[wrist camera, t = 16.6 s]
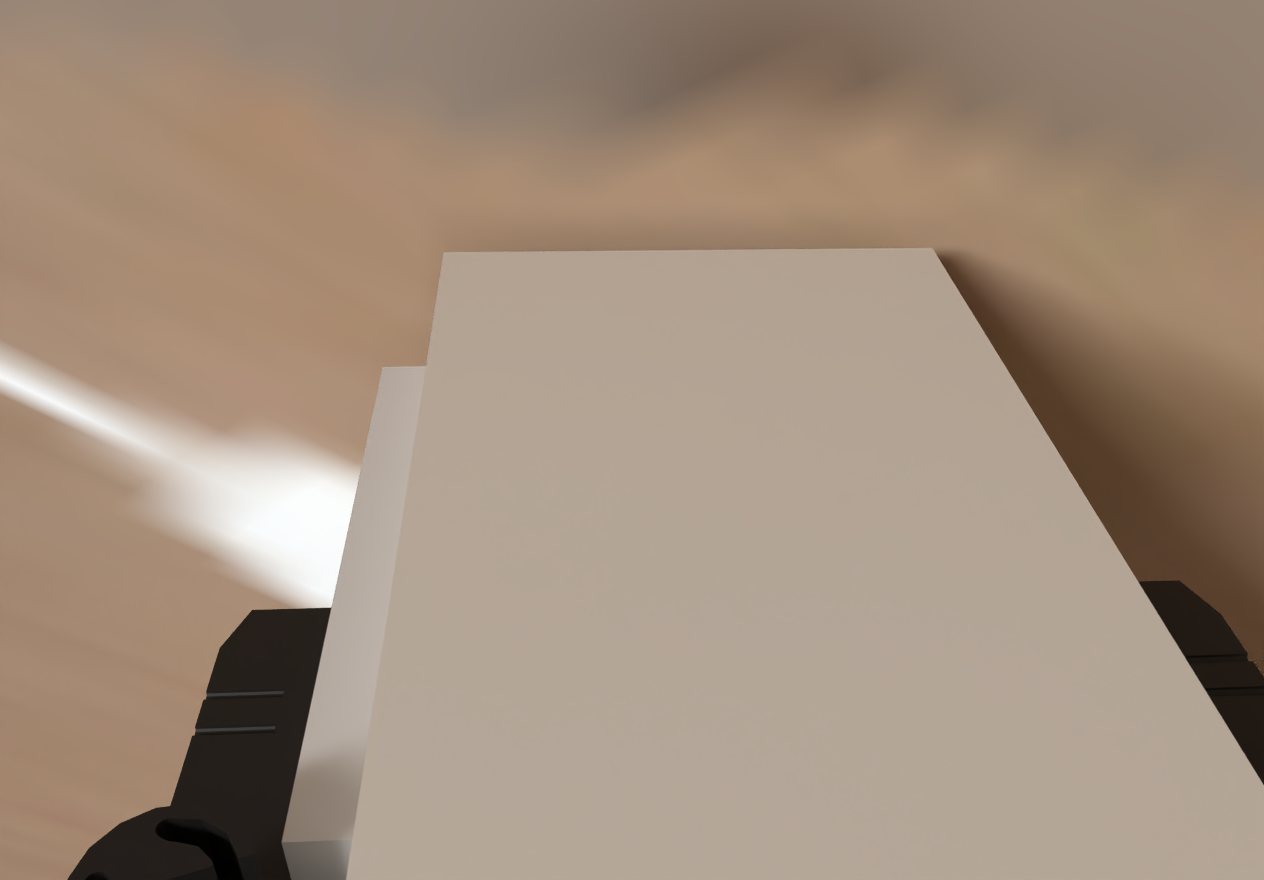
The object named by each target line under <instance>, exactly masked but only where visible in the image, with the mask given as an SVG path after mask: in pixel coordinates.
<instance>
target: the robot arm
mask: <svg viewBox="0 0 1264 880" xmlns="http://www.w3.org/2000/svg"><path fill="white" fill-rule="evenodd" d="M425 370H426V366H417V367H383V368H382V373H381V378H380V382H379V387H378V392H377V396H376V401H375V406H374V410H373V415H372V420H371V425H370V429H369V434H368V439H367V443H366V448H365V453H364V457H363V462H362V467H361V472H360V476H359V481H358V486H357V490H356V495H355V500H354V504H353V509H352V514H351V518H350V523H349V528H348V533H347V537H346V542H345V547H344V551H343V556H342V561H341V565H340V570H339V575H338V580H337V584H336V589H335V594H334V598H333V603H332V608H306V609H272V610H252V611H251V612H250V613H249V615H248V616H247V617H246V618H245V619H244V620H243V622H242V623H241V624H240V625H239V626H238V627H237V629H236V630H235V631H234V632H233V633H232V634H231V636H230V637H229V638H228V639H227V640H226V641H225V643H224V644H223V645H222V646H221V647H220V649H219V652H218V655H217V659H216V662H215V665H214V668H213V671H212V675H211V678H210V681H209V684H208V687H207V691H206V692H207V697H206V700H203V703H202V707H201V710H200V713H199V716H198V719H197V723H196V726H195V728H196V732H195V736H192V739H191V742H190V745H189V748H188V751H187V755H186V758H185V761H184V764H183V767H182V771H181V774H180V777H179V780H178V783H177V786H176V790H175V793H174V796H173V799H172V802H171V806H168V807H160V808H155V809H152V810H150V811H148V812H145V813H143V814H141V815H138V816H136V817H134V818H131V819H129V820H127V821H124V822H122V823H120V824H119V825H117V826H116V827H115V828H114V829H112V830H111V831H110V832H109V833H107V834H106V835H105V836H104V837H102V838H101V839H100V840H99V841H97V842H96V843H95V844H94V845H92V846H91V847H90V848H89V849H88V850H87V852H86V853H85V855H84V856H83V858H82V859H81V860H80V862H79V863H78V865H77V866H76V868H75V869H74V870H73V872H72V873H71V875H70V876H69V878H68V880H346V877H347V870H348V864H349V858H350V851H351V845H352V838H353V832H354V826H355V819H356V813H357V806H358V800H359V793H360V787H361V781H362V774H363V768H364V761H365V755H366V748H367V742H368V736H369V729H370V723H371V716H372V710H373V704H374V697H375V691H376V684H377V678H378V671H379V665H380V659H381V652H382V646H383V639H384V633H385V626H386V620H387V614H388V607H389V601H390V594H391V588H392V582H393V575H394V569H395V562H396V556H397V549H398V543H399V537H400V530H401V524H402V517H403V511H404V504H405V498H406V492H407V485H408V479H409V472H410V466H411V459H412V453H413V447H414V440H415V434H416V427H417V421H418V415H419V408H420V402H421V395H422V389H423V382H424V376H425ZM1139 584H1140V586H1141V587H1142V589H1143V590H1144V592H1145V594H1146V595H1147V597H1148V599H1149V600H1150V602H1151V603H1152V605H1153V607H1154V608H1155V610H1156V611H1157V613H1158V615H1159V616H1160V618H1161V620H1162V621H1163V623H1164V624H1165V626H1166V628H1167V629H1168V631H1169V633H1170V634H1171V636H1172V637H1173V639H1174V641H1175V642H1176V644H1177V645H1178V647H1179V649H1180V650H1181V652H1182V654H1183V655H1184V657H1185V658H1186V660H1187V662H1188V663H1189V665H1190V667H1191V668H1192V670H1193V671H1194V673H1195V675H1196V676H1197V678H1198V680H1199V681H1200V683H1201V684H1202V686H1203V688H1204V689H1205V691H1206V692H1207V694H1208V696H1209V697H1210V699H1211V701H1212V702H1213V704H1214V705H1215V707H1216V709H1217V710H1218V712H1219V714H1220V715H1221V717H1222V718H1223V720H1224V722H1225V723H1226V725H1227V727H1228V728H1229V730H1230V731H1231V733H1232V735H1233V736H1234V738H1235V739H1236V741H1237V743H1238V744H1239V746H1240V748H1241V749H1242V751H1243V752H1244V754H1245V756H1246V757H1247V759H1248V761H1249V762H1250V764H1251V765H1252V767H1253V769H1254V770H1255V772H1256V773H1257V775H1258V777H1259V778H1260V780H1261V782H1262V783H1263V785H1264V677H1263V676H1262V674H1261V673H1260V671H1259V670H1258V668H1257V667H1256V665H1255V664H1254V662H1253V661H1252V662H1249V661H1248V659H1247V652H1246V651H1245V649H1244V648H1243V646H1242V645H1241V643H1240V642H1239V640H1238V639H1237V637H1236V636H1235V634H1234V633H1233V631H1232V630H1231V628H1230V627H1229V626H1228V624H1227V623H1226V621H1225V620H1224V618H1223V617H1222V615H1221V614H1220V613H1219V612H1217V611H1216V610H1215V609H1214V608H1212V607H1211V606H1210V605H1209V604H1207V603H1206V602H1205V601H1204V600H1202V599H1201V598H1200V597H1199V596H1197V595H1196V594H1195V593H1194V592H1193V591H1191V590H1190V589H1189V588H1188V587H1186V586H1185V585H1184V584H1183V583H1181V582H1180V581H1144V582H1139Z"/></svg>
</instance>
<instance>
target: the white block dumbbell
mask: <svg viewBox="0 0 1264 880" xmlns="http://www.w3.org/2000/svg"><path fill="white" fill-rule="evenodd" d="M346 880H1264V785H1263V783H1262V782H1261V780H1260V778H1259V777H1258V775H1257V773H1256V772H1255V770H1254V769H1253V767H1252V765H1251V764H1250V762H1249V761H1248V759H1247V757H1246V756H1245V754H1244V752H1243V751H1242V749H1241V748H1240V746H1239V744H1238V743H1237V741H1236V739H1235V738H1234V736H1233V735H1232V733H1231V731H1230V730H1229V728H1228V727H1227V725H1226V723H1225V722H1224V720H1223V718H1222V717H1221V715H1220V714H1219V712H1218V710H1217V709H1216V707H1215V705H1214V704H1213V702H1212V701H1211V699H1210V697H1209V696H1208V694H1207V692H1206V691H1205V689H1204V688H1203V686H1202V684H1201V683H1200V681H1199V680H1198V678H1197V676H1196V675H1195V673H1194V671H1193V670H1192V668H1191V667H1190V665H1189V663H1188V662H1187V660H1186V658H1185V657H1184V655H1183V654H1182V652H1181V650H1180V649H1179V647H1178V645H1177V644H1176V642H1175V641H1174V639H1173V637H1172V636H1171V634H1170V633H1169V631H1168V629H1167V628H1166V626H1165V624H1164V623H1163V621H1162V620H1161V618H1160V616H1159V615H1158V613H1157V611H1156V610H1155V608H1154V607H1153V605H1152V603H1151V602H1150V600H1149V599H1148V597H1147V595H1146V594H1145V592H1144V590H1143V589H1142V587H1141V586H1140V584H1139V582H1138V581H1137V579H1136V577H1135V576H1134V574H1133V573H1132V571H1131V569H1130V568H1129V566H1128V564H1127V563H1126V561H1125V560H1124V558H1123V556H1122V555H1121V553H1120V552H1119V550H1118V548H1117V547H1116V545H1115V543H1114V542H1113V540H1112V539H1111V537H1110V535H1109V534H1108V532H1107V530H1106V529H1105V527H1104V526H1103V524H1102V522H1101V521H1100V519H1099V517H1098V516H1097V514H1096V513H1095V511H1094V509H1093V508H1092V506H1091V505H1090V503H1089V501H1088V500H1087V498H1086V496H1085V495H1084V493H1083V492H1082V490H1081V488H1080V487H1079V485H1078V483H1077V482H1076V480H1075V479H1074V477H1073V475H1072V474H1071V472H1070V471H1069V469H1068V467H1067V466H1066V464H1065V462H1064V461H1063V459H1062V458H1061V456H1060V454H1059V453H1058V451H1057V449H1056V448H1055V446H1054V445H1053V443H1052V441H1051V440H1050V438H1049V436H1048V435H1047V433H1046V432H1045V430H1044V428H1043V427H1042V425H1041V424H1040V422H1039V420H1038V419H1037V417H1036V415H1035V414H1034V412H1033V411H1032V409H1031V407H1030V406H1029V404H1028V402H1027V401H1026V399H1025V398H1024V396H1023V394H1022V393H1021V391H1020V389H1019V388H1018V386H1017V385H1016V383H1015V381H1014V380H1013V378H1012V377H1011V375H1010V373H1009V372H1008V370H1007V368H1006V367H1005V365H1004V364H1003V362H1002V360H1001V359H1000V357H999V355H998V354H997V352H996V351H995V349H994V347H993V346H992V344H991V343H990V341H989V339H988V338H987V336H986V334H985V333H984V331H983V330H982V328H981V326H980V325H979V323H978V321H977V320H976V318H975V317H974V315H973V313H972V312H971V310H970V308H969V307H968V305H967V304H966V302H965V300H964V299H963V297H962V296H961V294H960V292H959V291H958V289H957V287H956V286H955V284H954V283H953V281H952V279H951V278H950V276H949V274H948V273H947V271H946V270H945V268H944V266H943V265H942V263H941V261H940V260H939V258H938V257H937V255H936V253H935V252H934V250H933V249H932V248H871V249H759V250H647V251H535V252H444V254H443V260H442V267H441V273H440V280H439V286H438V293H437V299H436V305H435V312H434V318H433V325H432V331H431V337H430V344H429V350H428V357H427V363H426V370H425V376H424V382H423V389H422V395H421V402H420V408H419V415H418V421H417V427H416V434H415V440H414V447H413V453H412V459H411V466H410V472H409V479H408V485H407V492H406V498H405V504H404V511H403V517H402V524H401V530H400V537H399V543H398V549H397V556H396V562H395V569H394V575H393V582H392V588H391V594H390V601H389V607H388V614H387V620H386V626H385V633H384V639H383V646H382V652H381V659H380V665H379V671H378V678H377V684H376V691H375V697H374V704H373V710H372V716H371V723H370V729H369V736H368V742H367V748H366V755H365V761H364V768H363V774H362V781H361V787H360V793H359V800H358V806H357V813H356V819H355V826H354V832H353V838H352V845H351V851H350V858H349V864H348V870H347V877H346Z"/></svg>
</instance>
